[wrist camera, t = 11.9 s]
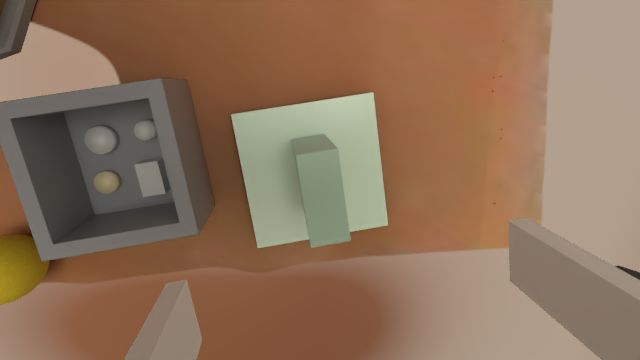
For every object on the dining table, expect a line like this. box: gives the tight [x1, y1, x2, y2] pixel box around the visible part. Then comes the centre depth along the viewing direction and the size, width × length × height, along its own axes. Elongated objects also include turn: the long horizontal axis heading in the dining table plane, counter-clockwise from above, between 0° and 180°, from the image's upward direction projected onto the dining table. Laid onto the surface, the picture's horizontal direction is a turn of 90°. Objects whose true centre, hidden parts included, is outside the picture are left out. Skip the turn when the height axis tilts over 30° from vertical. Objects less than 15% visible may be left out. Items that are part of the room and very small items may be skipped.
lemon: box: [0, 234, 49, 305], centre depth 34 cm, size 6×6×8 cm
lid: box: [231, 92, 388, 248], centre depth 33 cm, size 13×13×11 cm
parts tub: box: [0, 78, 215, 261], centre depth 33 cm, size 12×12×8 cm
